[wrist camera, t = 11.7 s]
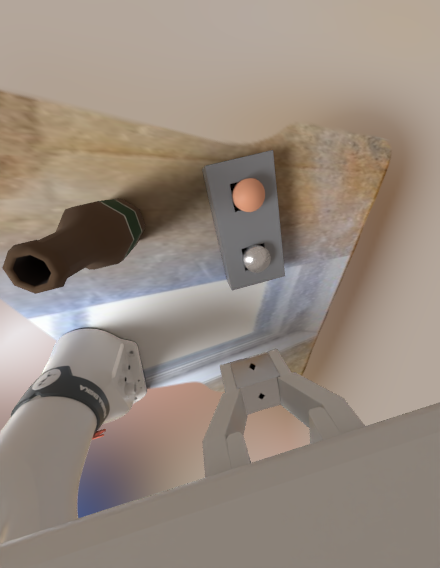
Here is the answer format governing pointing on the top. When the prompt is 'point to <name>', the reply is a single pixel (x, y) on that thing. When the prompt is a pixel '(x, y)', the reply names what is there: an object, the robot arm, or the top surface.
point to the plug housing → (245, 217)
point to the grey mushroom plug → (256, 258)
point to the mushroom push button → (248, 195)
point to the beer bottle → (76, 245)
